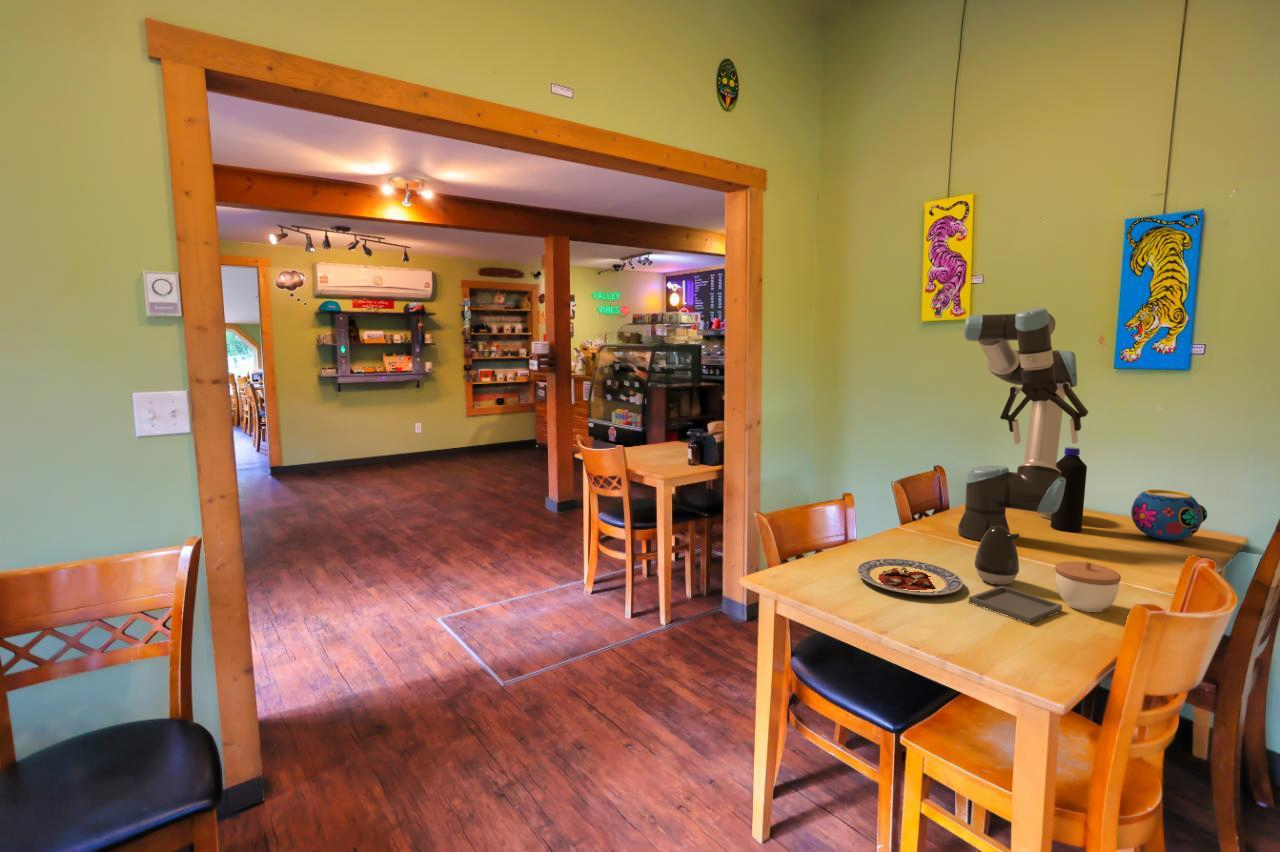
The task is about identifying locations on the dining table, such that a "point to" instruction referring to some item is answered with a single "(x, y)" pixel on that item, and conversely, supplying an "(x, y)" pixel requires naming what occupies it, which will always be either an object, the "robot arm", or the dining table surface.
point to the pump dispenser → (997, 556)
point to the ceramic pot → (1167, 514)
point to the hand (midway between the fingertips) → (1045, 442)
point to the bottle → (1071, 492)
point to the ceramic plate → (909, 576)
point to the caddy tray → (1016, 604)
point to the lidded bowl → (1086, 585)
